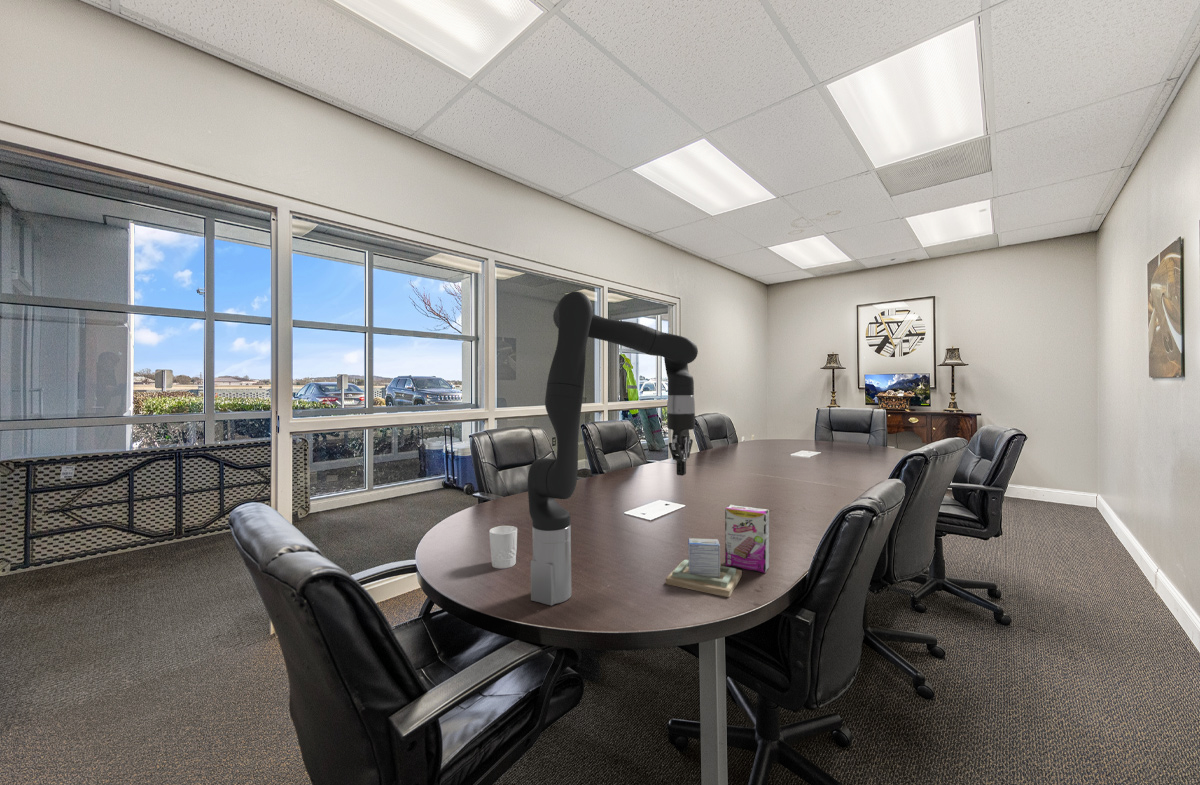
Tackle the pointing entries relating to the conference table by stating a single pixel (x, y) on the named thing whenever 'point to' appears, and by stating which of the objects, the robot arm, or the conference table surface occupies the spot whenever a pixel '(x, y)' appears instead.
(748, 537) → the candy bar box
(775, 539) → the conference table surface
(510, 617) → the conference table surface
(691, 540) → the medicine box
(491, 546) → the white cup
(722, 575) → the locating plate
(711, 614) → the conference table surface
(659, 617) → the conference table surface
